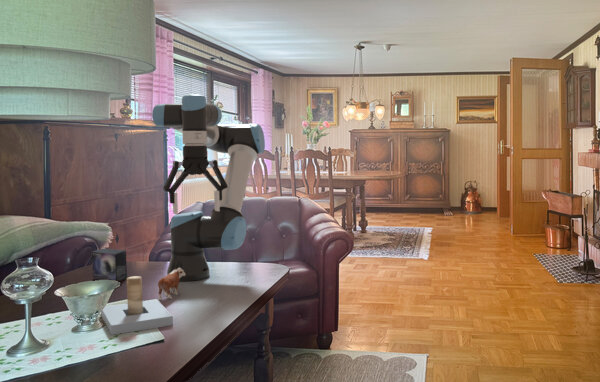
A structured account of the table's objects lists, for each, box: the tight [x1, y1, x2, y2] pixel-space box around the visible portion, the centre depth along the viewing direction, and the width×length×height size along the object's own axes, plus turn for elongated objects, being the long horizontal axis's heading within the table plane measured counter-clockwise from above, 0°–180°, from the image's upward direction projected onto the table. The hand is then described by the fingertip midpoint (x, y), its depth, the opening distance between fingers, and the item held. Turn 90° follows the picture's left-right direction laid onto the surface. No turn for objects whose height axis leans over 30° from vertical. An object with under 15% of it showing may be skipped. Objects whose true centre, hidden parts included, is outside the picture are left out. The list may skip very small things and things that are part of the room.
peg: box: [126, 275, 144, 316], centre depth 158 cm, size 4×4×12 cm
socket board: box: [100, 298, 174, 336], centre depth 158 cm, size 18×16×2 cm
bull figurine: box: [157, 268, 186, 301], centre depth 182 cm, size 4×13×8 cm, turn 161°
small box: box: [91, 247, 128, 282], centre depth 203 cm, size 11×6×10 cm, turn 68°
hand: (196, 212), depth 181 cm, fingers open, 13 cm apart
